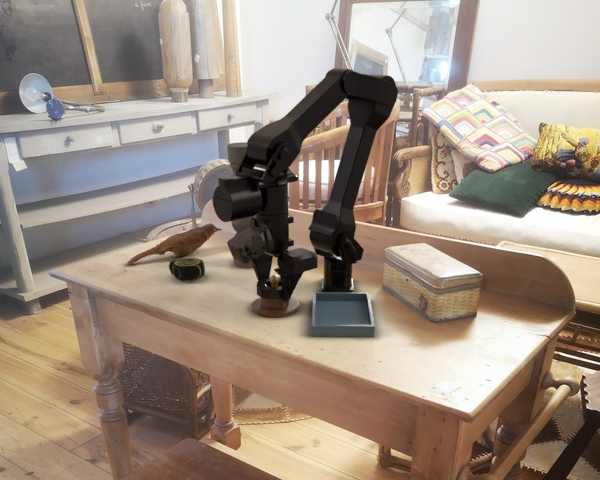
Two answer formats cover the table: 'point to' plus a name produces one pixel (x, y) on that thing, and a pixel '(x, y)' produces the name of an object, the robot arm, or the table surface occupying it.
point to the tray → (342, 314)
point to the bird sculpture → (181, 242)
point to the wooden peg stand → (274, 304)
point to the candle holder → (234, 159)
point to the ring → (269, 289)
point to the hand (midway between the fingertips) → (274, 295)
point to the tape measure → (187, 269)
